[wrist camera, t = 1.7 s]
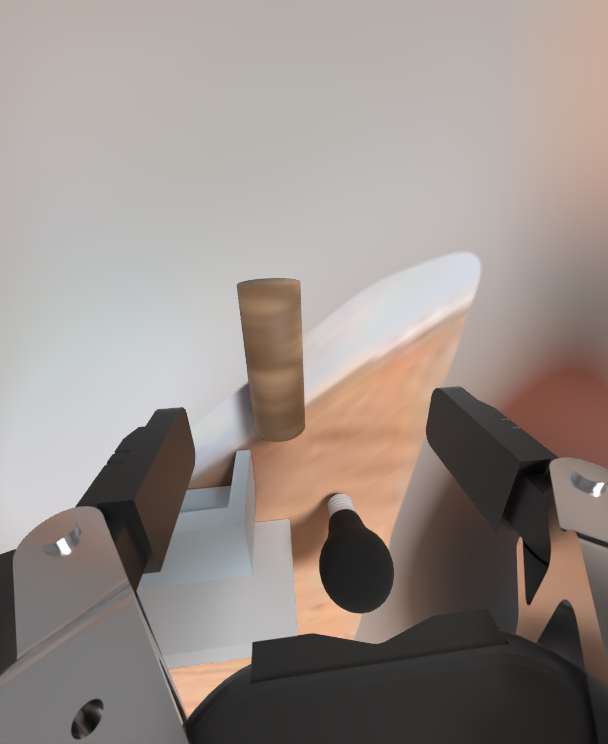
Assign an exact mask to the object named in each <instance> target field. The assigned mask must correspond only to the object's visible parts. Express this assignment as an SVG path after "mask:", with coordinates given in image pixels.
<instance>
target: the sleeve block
mask: <svg viewBox="0 0 608 744" xmlns="http://www.w3.org/2000/svg"><path fill="white" fill-rule="evenodd" d="M255 510H256V489H255V482H254V474H253V467H252V460H251V452H250V450H242V451H236V458H235V464H234V471H233V478H232V485H231V486H221V487H211V488H201V489H191V490H187V491H186V494H185V497H184V500H183V503H182V507H181V510H180V513H179V516H178V519H177V522H176V525H175V528H174V531H173V535H172V538H171V541H170V544H169V547H168V550H167V553H166V556H165V559H164V562H163V566H162V569H161V572H155V573H147V574H143V575H142V577H141V580H140V583H139V584H140V586H141V588H142V589H145V588H153V587H161V586H169V585H177V584H185V583H193V582H201V581H209V580H217V579H225V578H232V577H240V576H248V575H252V573H253V552H254V531H255Z"/></svg>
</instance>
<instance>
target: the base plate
mask: <svg viewBox="0 0 608 744" xmlns="http://www.w3.org/2000/svg"><path fill="white" fill-rule="evenodd" d="M137 593H138V595H139V597H140V600H141V602H142V605H143V607H144V610H145V612H146V615H147V617H148V620H149V622H150V625H151V627H152V630H153V633H154V635H155V638H156V640H157V643H158V645H159V648H160V650H161V653H162V655H163V658H164V660H165V663H166V665H167V667H168V669H175V668H182V667H188V666H195V665H202V664H209V663H215V662H222V661H229V660H236V659H242V658H249V657H252V642H256V641H263V640H270V639H277V638H284V637H291V636H298V627H297V613H296V599H295V585H294V571H293V558H292V544H291V530H290V519H282V520H273V521H264V522H255V531H254V552H253V573H252V575H248V576H240V577H232V578H225V579H217V580H209V581H201V582H193V583H185V584H177V585H169V586H161V587H153V588H145V589H142V588H141V586H140V584H139V586H138V588H137Z"/></svg>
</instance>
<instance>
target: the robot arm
mask: <svg viewBox="0 0 608 744" xmlns="http://www.w3.org/2000/svg"><path fill="white" fill-rule="evenodd" d="M426 435H427V440H428V442H429V444H430V446H431V448H432V449H433V450H434V452H435V453H436V454H437V455H438V457H439V458H440V460H441V461H442V462H443V463H444V465H445V466H446V468H447V469H448V470H449V471H450V473H451V474H452V475H453V477H454V478H455V479H456V481H457V482H458V483H459V485H460V486H461V487H462V489H463V490H464V491H465V493H466V494H467V495H468V497H469V498H470V499H471V501H472V502H473V503H474V505H475V506H476V507H477V509H478V510H479V511H480V512H481V514H482V515H483V516H484V518H485V519H486V520H487V522H488V523H489V524H490V525H491V527H492V528H493V529H494V531H495V532H496V533H498V532H506V531H516V532H517V533H518V534H519V535H520V538H519V541H518V543H517V567H518V595H519V596H518V598H519V619H518V626H517V631H516V635H515V634H512V633H509V632H505V631H502V630H499V628H498V627H497V625H496V623H495V622H494V620H493V618H492V616H491V615H490V613H489V611H488V609H480V610H473V611H467V612H459V613H452V614H445V615H438V616H432V617H430V618H428V619H426V620H424V621H423V622H421V623H419V624H417V625H415V626H413V627H411V628H410V629H408V630H406V631H404V632H402V633H400V634H398V635H397V636H395V637H393V638H391V639H389V640H387V641H386V642H383V643H380V644H370V643H365V642H359V641H353V640H348V639H342V638H336V637H331V636H325V635H319V634H314V633H312V634H305V635H298V636H291V637H284V638H277V639H270V640H263V641H256V642H252V662H251V664H250V665H248V666H246V667H244V668H242V669H240V670H239V671H237V672H236V673H234V674H233V675H232V676H230V677H229V678H227V679H226V680H224V681H223V682H222V683H221V684H220V685H219V686H218V687H216V688H215V689H214V690H213V691H212V692H211V693H210V694H209V695H208V696H207V697H206V698H205V699H204V700H203V701H202V702H201V703H200V705H199V706H198V707H197V708H196V709H195V710H194V711H193V713H192V714H191V715H190V717H189V718H188V716H187V713H186V711H185V708H184V706H183V703H182V701H181V698H180V696H179V694H178V691H177V689H176V687H175V684H174V682H173V680H172V677H171V675H170V672H169V670H168V667H167V665H166V663H165V660H164V658H163V655H162V653H161V650H160V648H159V645H158V643H157V640H156V638H155V635H154V633H153V630H152V627H151V625H150V622H149V620H148V617H147V615H146V612H145V610H144V607H143V605H142V602H141V600H140V597H139V595H138V593H137V588H138V586H139V583H140V580H141V577H142V575H143V574H147V573H155V572H161V569H162V566H163V562H164V559H165V556H166V553H167V550H168V547H169V544H170V541H171V538H172V535H173V531H174V528H175V525H176V522H177V519H178V516H179V513H180V510H181V507H182V503H183V500H184V497H185V494H186V491H187V488H188V485H189V482H190V479H191V475H192V472H193V469H194V465H195V448H194V443H193V439H192V434H191V430H190V426H189V422H188V417H187V413H186V410H185V409H184V408H182V407H181V408H169V409H158V410H156V411H155V413H154V414H153V416H152V417H151V419H150V420H149V422H148V423H147V425H146V426H145V427H138V428H137V429H136V430H134V431H133V432H132V433H130V434H129V435H128V436H127V437H125V438H124V439H123V440H122V442H121V443H120V445H119V446H118V448H117V449H116V450H115V454H113V455H112V456H111V457H110V459H109V460H108V462H107V465H105V466H104V467H103V469H102V470H101V472H100V473H99V474H98V476H97V477H96V479H95V480H94V481H93V483H92V484H91V486H90V487H89V488H88V490H87V492H86V493H85V494H84V495H83V497H82V498H81V500H80V501H79V503H78V504H77V505H76V507H75V508H72V509H68V510H66V511H63V512H61V513H58V514H56V515H54V516H52V517H50V518H49V519H47V520H45V521H44V522H43V523H41V524H40V525H38V526H37V527H36V528H34V529H33V530H32V531H31V532H30V533H29V534H28V535H27V536H26V537H25V538H24V539H23V540H22V542H21V543H20V544H19V546H18V547H17V549H15V550H12V551H9V552H6V553H3V554H0V744H608V470H606V469H604V468H602V467H600V466H598V465H596V464H593V463H590V462H587V461H584V460H579V459H574V458H558V457H557V456H556V455H555V454H553V453H552V452H551V451H549V450H548V449H547V448H546V447H544V446H543V445H542V444H540V443H539V442H538V441H537V440H535V439H534V438H533V437H531V436H530V435H529V434H528V433H526V432H525V431H524V430H522V429H521V428H518V426H517V425H516V424H515V423H513V422H512V421H511V420H508V419H507V417H506V416H504V415H503V414H502V413H501V412H499V411H498V410H497V409H495V408H494V407H492V406H490V405H487V404H485V403H483V402H481V401H479V400H477V399H476V398H475V397H473V396H472V395H471V394H470V393H468V392H467V391H466V390H465V389H463V388H462V387H446V388H436V389H435V390H434V391H433V393H432V397H431V403H430V408H429V414H428V420H427V426H426Z"/></svg>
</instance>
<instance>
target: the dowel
mask: <svg viewBox="0 0 608 744" xmlns="http://www.w3.org/2000/svg"><path fill="white" fill-rule="evenodd" d="M237 291H238V299H239V307H240V315H241V323H242V332H243V339H244V348H245V356H246V364H247V372H248V380H249V389H250V397H251V405H252V413H253V421H254V429H255V433H256V434H257V435H258V436H259V437H260V438H262V439H264V440H267V441H272V442H282V441H288V440H291V439H293V438H295V437H297V436H299V435H300V434H301V433H302V432H303V430H304V428H305V409H304V379H303V349H302V320H301V289H300V281H299V280H295V279H285V278H268V279H267V278H266V279H255V280H248V281H244V282H241V283H238V284H237Z"/></svg>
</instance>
